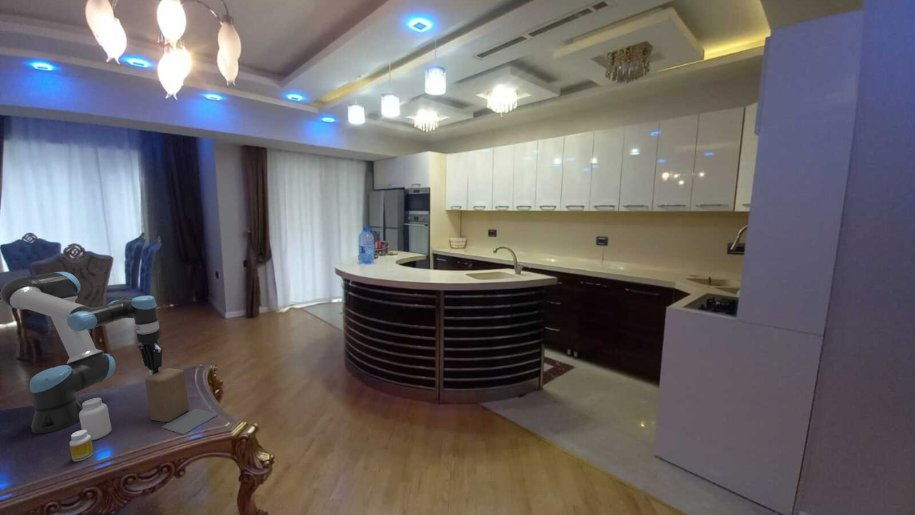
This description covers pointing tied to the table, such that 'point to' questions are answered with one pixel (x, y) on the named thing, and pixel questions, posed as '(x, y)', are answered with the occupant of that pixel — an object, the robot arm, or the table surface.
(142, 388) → the table surface
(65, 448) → the table surface
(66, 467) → the table surface
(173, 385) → the wooden block
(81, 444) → the supplement bottle
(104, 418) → the pill bottle
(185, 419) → the mat
